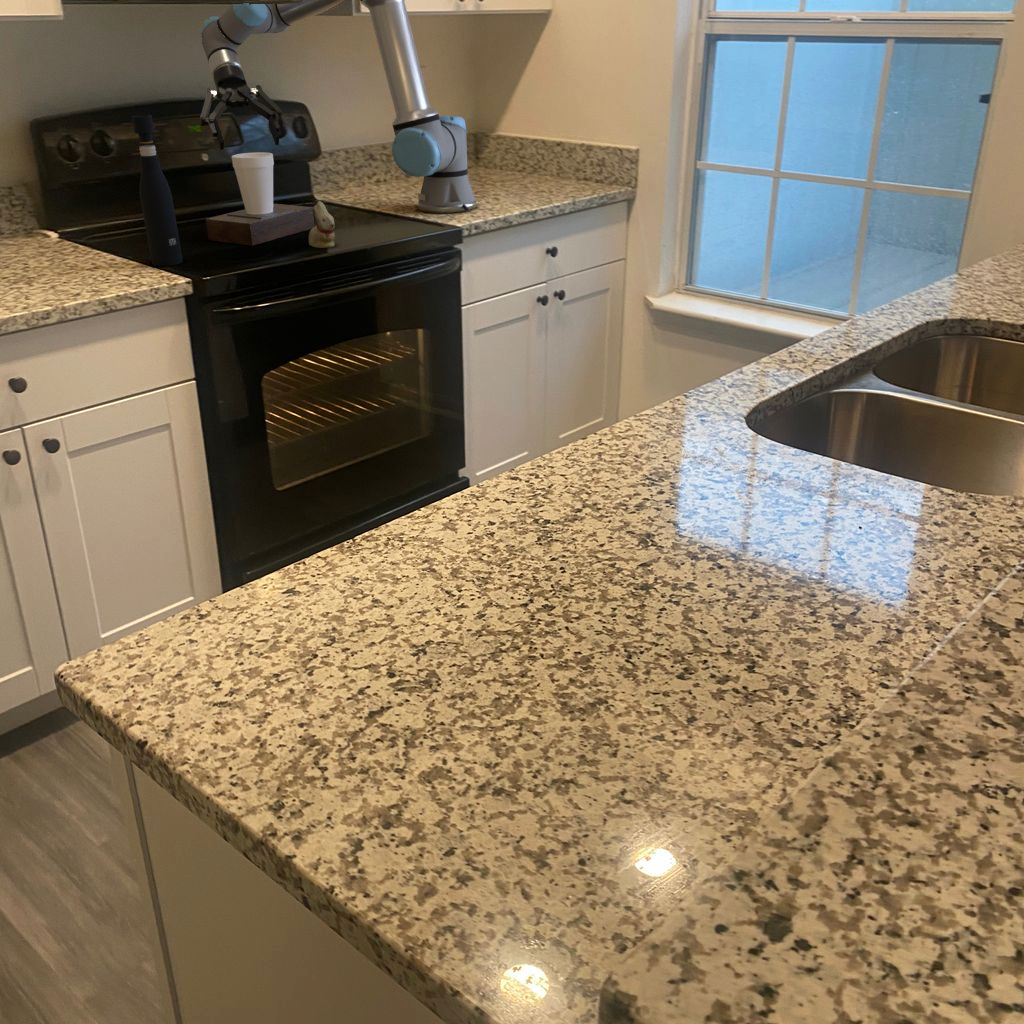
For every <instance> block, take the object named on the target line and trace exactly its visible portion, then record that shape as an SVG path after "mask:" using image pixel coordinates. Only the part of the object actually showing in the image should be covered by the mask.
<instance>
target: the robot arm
mask: <svg viewBox="0 0 1024 1024" xmlns="http://www.w3.org/2000/svg"><path fill="white" fill-rule="evenodd" d="M342 1H344V0H303V1H302V2H300V3H295V4H249V3H243V4H233V3H232V4H231V5H230V6H229V7H228V8H227V9H226V10H225V12H224V13H223V14H222V15H221V16H215V15H214V16H209V17H208V18H205V19H206V20H205V19H204V20H205V22H204V26H203V30H202V32H201V35H202V36H201V37H202V43H201V45H202V44H203V45H202V48H203V50H204V53H205V56H206V59H207V62H208V65H209V66H208V67H209V69H210V73H211V75H212V79H213V82H214V85H215V88H216V90H212V89H211V88H209V87H206V88H205V98H204V103H203V106H202V110H201V112H200V116H199V125H200V126H201V127H207V128H208V130H209V131H210V134H211V136H212V138H216V140H217V144H218V146H219V149H220V151H222V150H223V151H224V149H225V141H224V138H223V134H222V131H221V128H220V124H219V122H218V120H219V119H220V117H221V116H222V115H223V113H224V112H225V111H226V110H227V108H228V107H230V108H232V109H233V108H243V107H245V108H248V109H251V110H253V111H254V112H255V113H257V114H258V115H260V116H261V117H263V118H265V120H268V127H269V129H270V133H271V135H272V138H273V141H274V144H275V146H279V144H280V135H279V132H280V124H279V121H282V120H283V113H284V112H283V110H282V109H281V108H280V107H279V106H278V104H276V103H275V102H274V101H273V100H272V99H271V97H269V96H268V95H267V93H265V91H264V90H263V87H262V86H261V85H260V84H257V85H256V86H255V87H254V88H253V87H252V88H250V87H249V85H248V83H247V80H246V77H245V74H244V71H243V67H242V64H241V62H240V59H239V56H238V52H237V49H238V48H239V47H240V46H241V45H243V43H244V42H245V41H246V40H247V39H248V38H249V37H250V36H251V35H259V34H279V33H281V32H282V33H283V32H285V31H287V29H289V27H291V26H292V25H295V24H298V23H299V22H303V21H305V20H307V19H311V18H312V17H314V16H317V15H320V14H323V13H324V11H325V12H327V11H329V10H328V9H330V8H332V7H334V6H336V5H338V4H339V3H341V2H342ZM359 2H360V4H361V5H362V6H364V7H365V8H366V9H368V11H369V13H370V14H369V15H370V18H371V22H372V27H373V30H374V34H375V39H376V41H377V45H378V50H379V54H380V57H381V61H382V64H383V65H382V66H383V68H384V72H385V76H386V81H387V85H388V88H389V92H390V96H391V100H392V104H393V107H394V112H395V118H394V120H393V122H392V128H393V132H394V139H393V142H392V145H391V153H392V157H393V161H394V162H395V164H396V166H397V167H398V168H399V169H400V171H402V172H403V173H405V174H406V175H408V176H411V177H414V178H422V177H423V180H422V184H421V189H420V192H417V197H418V203H417V204H418V210H419V211H422V212H426V213H434V214H449V213H450V214H451V213H461V212H462V213H463V212H469V211H472V210H474V209H475V208H476V207H477V198H476V196H475V194H474V190H473V188H472V185H471V182H470V179H469V170H468V167H469V166H468V142H467V141H468V140H467V133H468V132H467V131H468V130H467V127H466V126H467V125H466V120H465V118H464V117H462V116H458V115H457V116H455V115H439V112H438V111H437V110H435V109H434V108H433V107H431V104H430V99H429V96H428V92H427V88H426V84H425V80H424V76H423V71H422V67H421V63H420V58H419V55H418V52H417V47H416V42H415V39H414V35H413V30H412V27H411V23H410V17H409V15H408V10H407V5H406V3H405V0H359ZM332 9H333V8H332ZM326 10H327V11H326ZM330 10H331V9H330ZM217 25H218V26H217ZM220 31H221V32H220ZM223 35H224V36H225V37H224V36H223ZM201 37H200V38H201ZM216 98H217V99H218V100H219V102H218V104H217V105H216V106H215V108H214V109H213V111H211V112H212V113H211V114H210V115H209V113H210V110H211V106H212V102H214V101H215V99H216ZM257 99H258V100H257Z"/></svg>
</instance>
